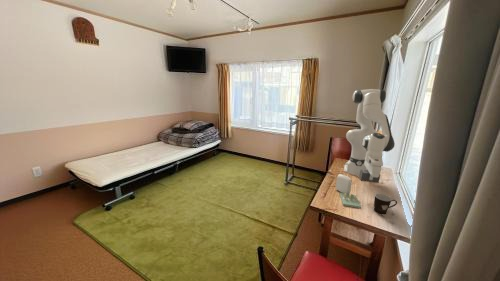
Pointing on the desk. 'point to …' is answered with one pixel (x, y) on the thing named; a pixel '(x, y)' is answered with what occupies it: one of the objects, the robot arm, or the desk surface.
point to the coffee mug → (382, 203)
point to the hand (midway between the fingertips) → (369, 177)
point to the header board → (350, 200)
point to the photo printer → (343, 184)
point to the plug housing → (367, 176)
